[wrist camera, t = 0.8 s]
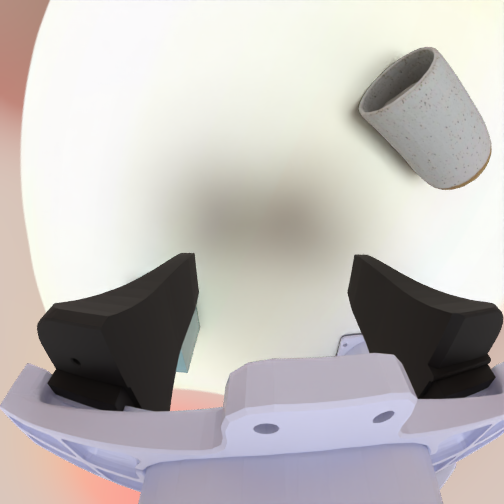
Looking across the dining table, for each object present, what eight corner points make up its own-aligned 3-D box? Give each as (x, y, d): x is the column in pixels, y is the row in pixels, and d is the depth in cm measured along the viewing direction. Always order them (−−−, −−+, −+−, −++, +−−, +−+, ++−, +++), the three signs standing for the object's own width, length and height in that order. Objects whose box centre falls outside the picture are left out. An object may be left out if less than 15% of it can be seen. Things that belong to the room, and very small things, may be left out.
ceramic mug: (413, 185, 19) (471, 213, 12) (344, 116, 17) (391, 110, 10) (467, 104, 16) (526, 108, 9) (408, 36, 14) (462, 12, 7)
